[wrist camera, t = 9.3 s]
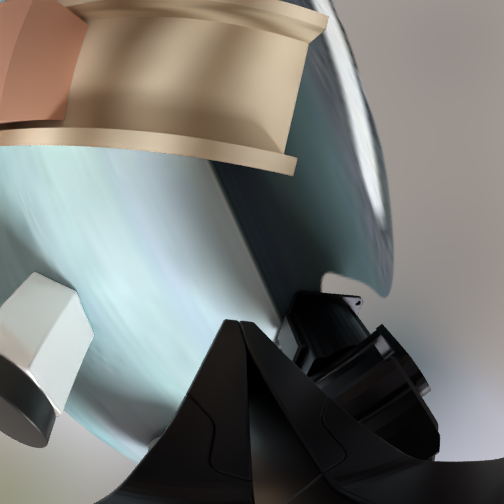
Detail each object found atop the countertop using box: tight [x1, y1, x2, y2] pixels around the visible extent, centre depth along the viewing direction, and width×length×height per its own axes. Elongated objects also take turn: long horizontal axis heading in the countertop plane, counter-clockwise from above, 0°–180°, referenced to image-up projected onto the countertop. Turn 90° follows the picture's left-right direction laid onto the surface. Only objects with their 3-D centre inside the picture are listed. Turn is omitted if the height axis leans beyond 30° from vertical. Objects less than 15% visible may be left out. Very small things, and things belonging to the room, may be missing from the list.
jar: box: [0, 272, 94, 448], centre depth 14 cm, size 9×8×12 cm
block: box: [0, 0, 89, 124], centre depth 8 cm, size 7×7×7 cm
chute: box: [0, 0, 329, 176], centre depth 12 cm, size 23×10×4 cm, turn 78°
